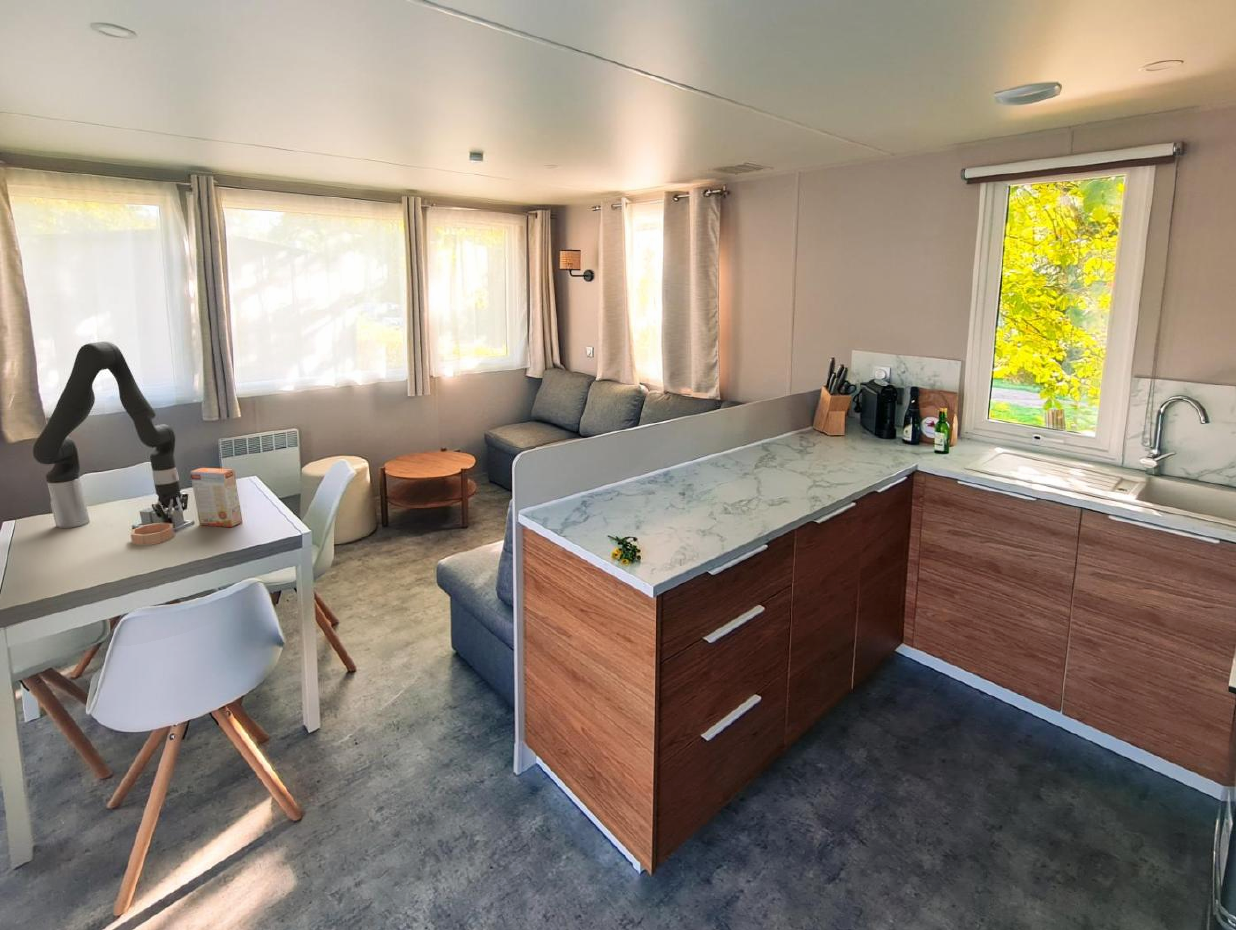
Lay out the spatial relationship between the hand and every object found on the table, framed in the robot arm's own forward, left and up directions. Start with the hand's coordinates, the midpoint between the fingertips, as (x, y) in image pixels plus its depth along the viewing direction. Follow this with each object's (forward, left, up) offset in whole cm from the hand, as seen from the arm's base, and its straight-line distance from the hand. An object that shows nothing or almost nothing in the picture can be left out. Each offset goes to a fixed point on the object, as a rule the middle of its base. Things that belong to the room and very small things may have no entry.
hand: (175, 524), depth 240 cm
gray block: (-10, 0, -1) cm, 10 cm away
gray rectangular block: (-5, 0, -1) cm, 5 cm away
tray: (-5, 0, -1) cm, 5 cm away
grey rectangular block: (0, 0, -1) cm, 1 cm away
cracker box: (+14, +7, -1) cm, 15 cm away
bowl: (+2, -11, -1) cm, 11 cm away
